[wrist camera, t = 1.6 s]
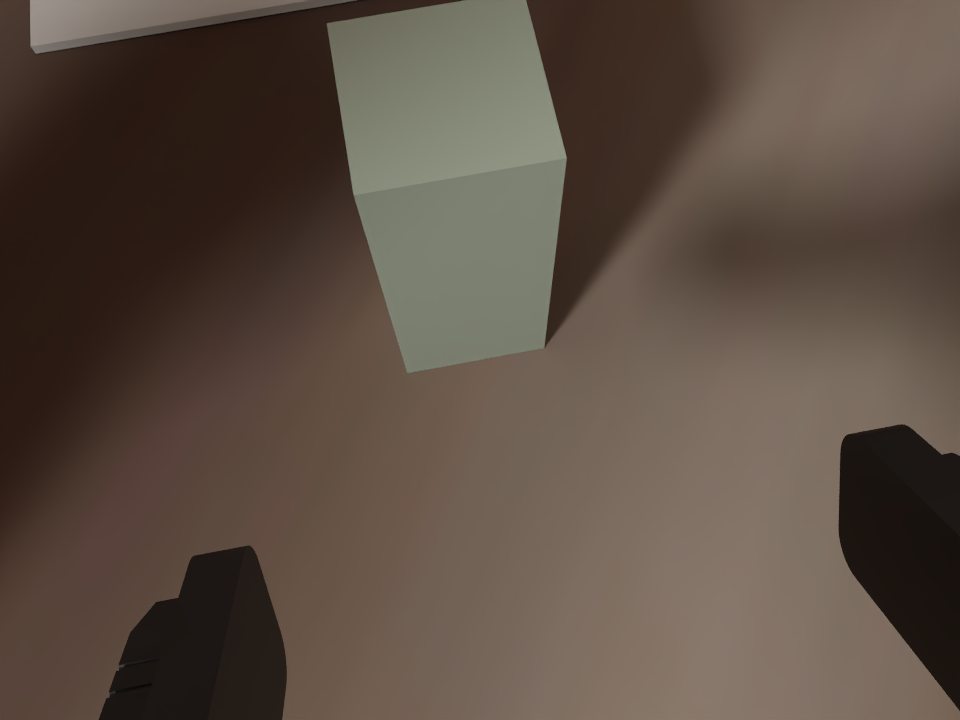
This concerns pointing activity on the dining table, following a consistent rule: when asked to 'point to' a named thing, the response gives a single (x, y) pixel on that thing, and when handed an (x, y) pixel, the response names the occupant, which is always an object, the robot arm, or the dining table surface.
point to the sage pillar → (454, 174)
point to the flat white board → (140, 18)
